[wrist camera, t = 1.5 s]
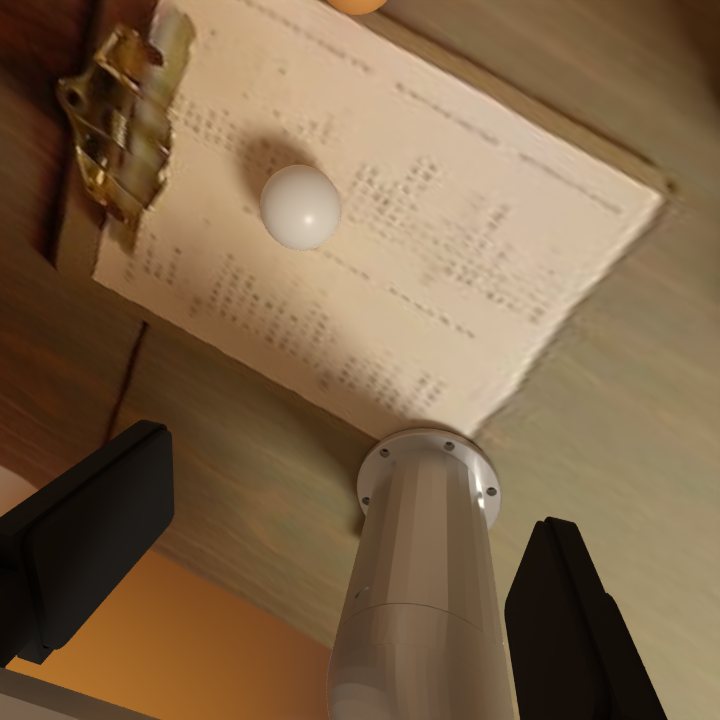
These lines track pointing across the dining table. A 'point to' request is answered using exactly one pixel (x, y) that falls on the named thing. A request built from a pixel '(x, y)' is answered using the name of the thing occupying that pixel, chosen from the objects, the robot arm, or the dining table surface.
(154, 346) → the dining table surface
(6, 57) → the dining table surface
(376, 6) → the object ball
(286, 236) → the cue ball
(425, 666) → the robot arm
